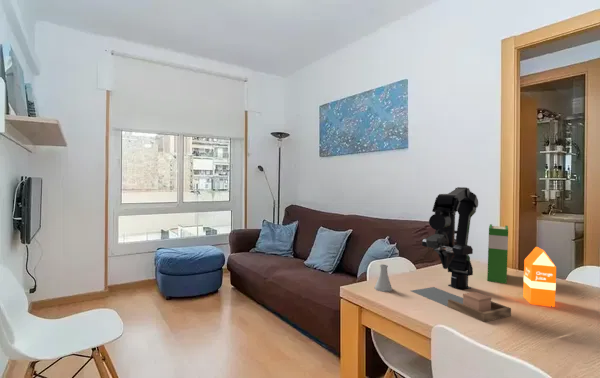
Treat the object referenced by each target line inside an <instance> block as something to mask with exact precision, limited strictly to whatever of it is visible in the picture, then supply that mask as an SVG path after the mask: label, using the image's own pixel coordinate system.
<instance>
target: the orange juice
mask: <svg viewBox="0 0 600 378" xmlns="http://www.w3.org/2000/svg"><path fill="white" fill-rule="evenodd" d="M523 264H524V266H523V291H522V292H523V293H522V297H523V298H524V299H525V300H526V301H527V302H528V303H529V304H530V305H536V306H544V307H551V306H552V308H555V306H556V290H557V289H556V288H557V283H556V282H557V266H556V265H555V264H554V262H553V261H552V259H551V258H550V257H549V255H548V254H547V253H546V251H545V250H544V249H542V248H540V247H538V246H535V247H534V248H533V249H532V251H530V253H529V254H528V255H527V256H526V257H525V259H524V261H523Z"/></svg>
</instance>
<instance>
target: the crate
mask: <svg viewBox="0 0 600 378" xmlns="http://www.w3.org/2000/svg"><path fill="white" fill-rule="evenodd" d="M462 298H463V304H464V305H466V306H469V307H471V308H474V309H476V310H479V311H481V312H487V311H491V301H492V299H493V298H492V296H489V295H486V294H483V293H480V292H477V291H471V292H470V291H469V292H465V293H462Z"/></svg>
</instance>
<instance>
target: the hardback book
mask: <svg viewBox="0 0 600 378" xmlns="http://www.w3.org/2000/svg"><path fill="white" fill-rule="evenodd" d="M487 247H488V248H487V249H488V251H487V275H486V277H487V278H486V280H487V282H493V283H498V284H499V283H500V284H505V285H506V284H507V282H508V281H507V280H508V279H507V276H508V252H509V250H508V249H509V226H508V225H505V226H498V225H493V224H492V223H491V224H489V227H488V246H487Z"/></svg>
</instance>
